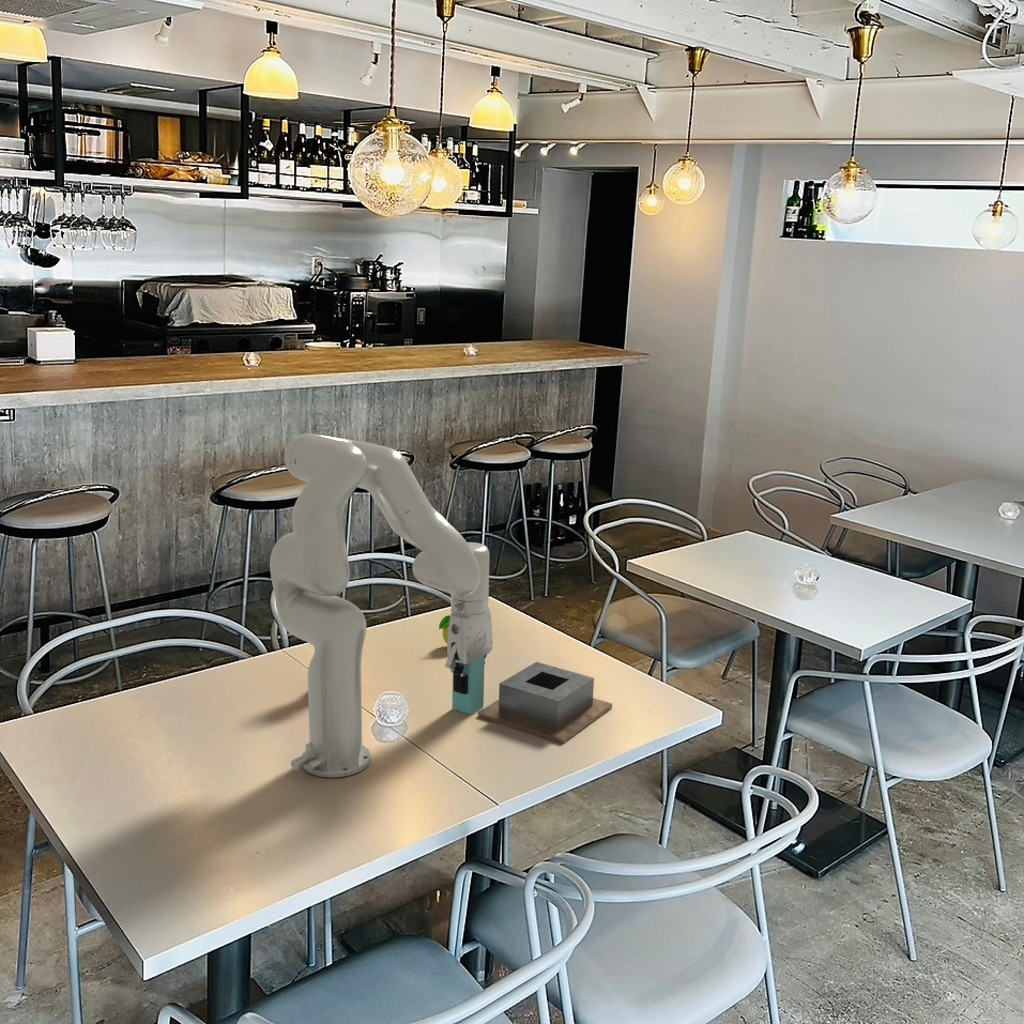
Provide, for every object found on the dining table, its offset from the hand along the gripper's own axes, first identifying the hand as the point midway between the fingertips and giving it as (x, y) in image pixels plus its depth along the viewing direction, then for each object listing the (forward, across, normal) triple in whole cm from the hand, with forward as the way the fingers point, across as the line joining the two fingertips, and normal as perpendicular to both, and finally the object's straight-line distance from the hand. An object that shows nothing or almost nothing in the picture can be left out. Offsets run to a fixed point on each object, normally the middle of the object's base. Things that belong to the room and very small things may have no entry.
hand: (468, 687), depth 218 cm
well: (+5, +8, -14) cm, 17 cm away
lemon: (+5, +25, +22) cm, 34 cm away
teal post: (+5, 0, 0) cm, 5 cm away
